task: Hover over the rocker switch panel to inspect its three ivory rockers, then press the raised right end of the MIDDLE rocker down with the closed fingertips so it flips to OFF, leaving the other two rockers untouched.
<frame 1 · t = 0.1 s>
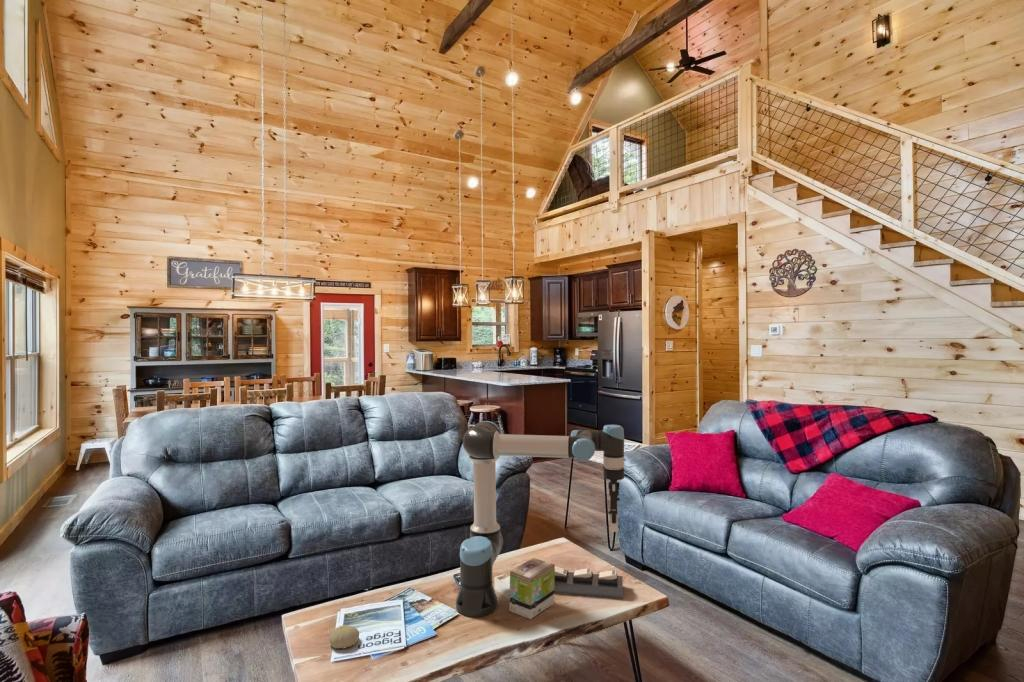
hand: (614, 524, 200), 28 cm above the table, fingers open, 13 cm apart
rocker 3: (607, 575, 207), point 6 cm above the table, hinge at -14.0°
rocker 2: (582, 573, 209), point 6 cm above the table, hinge at -14.0°
brown kiwi fruit: (344, 643, 174), on the table
tea box: (532, 607, 196), on the table
rocker 1: (558, 571, 211), point 6 cm above the table, hinge at 14.0°
rocker switch panel: (583, 589, 209), on the table
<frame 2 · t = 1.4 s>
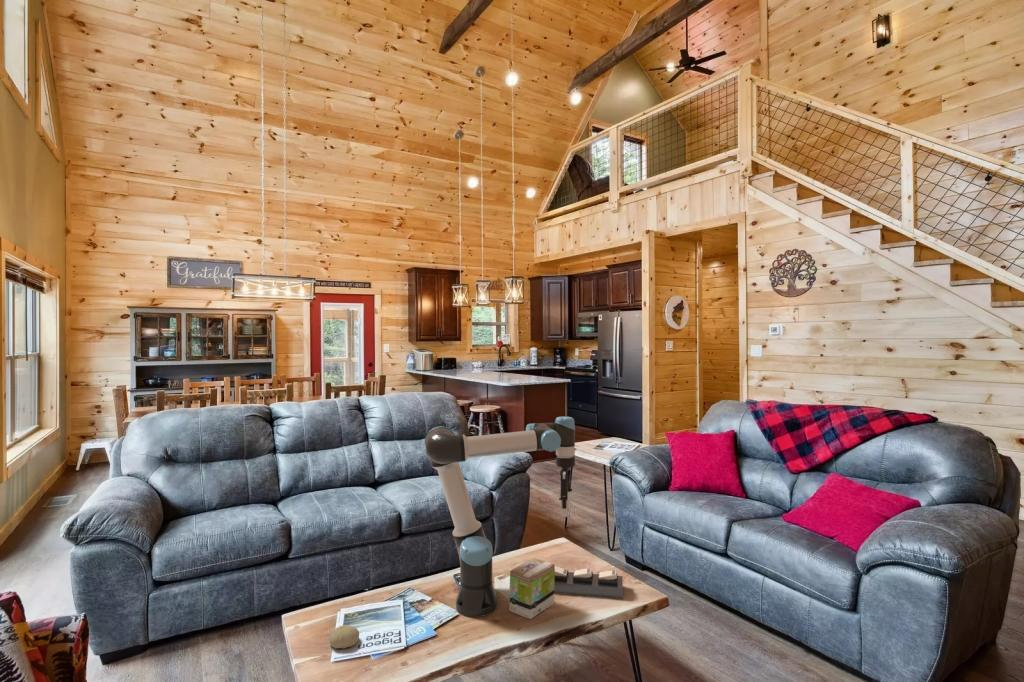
hand: (565, 511, 216), 28 cm above the table, fingers open, 10 cm apart
nothing on the table moved.
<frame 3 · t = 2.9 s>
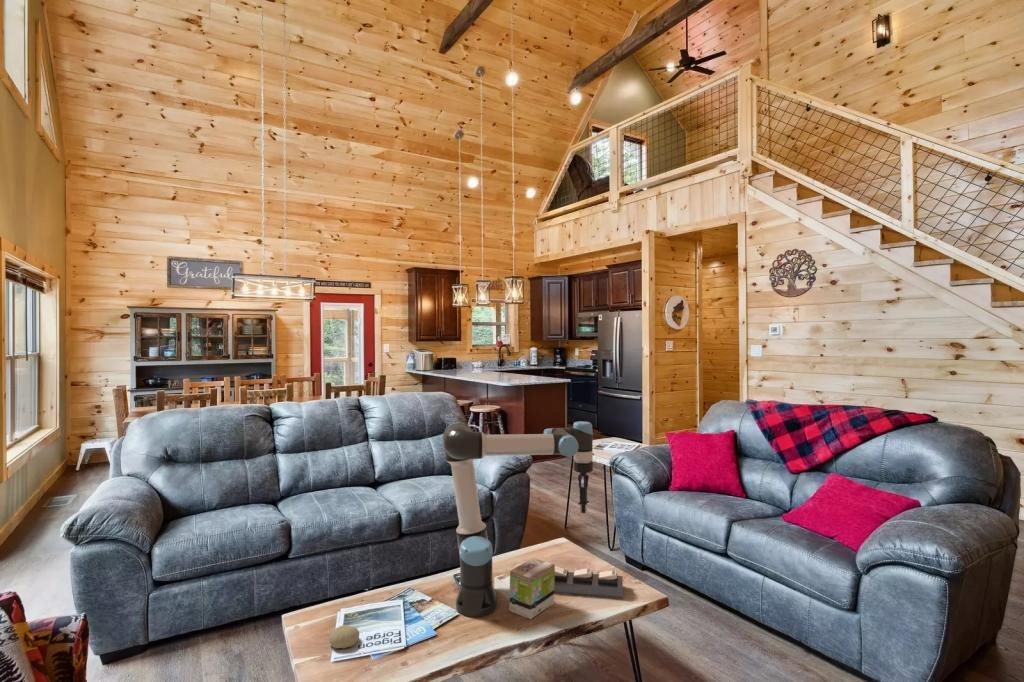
hand: (583, 520, 216), 24 cm above the table, fingers closed
nothing on the table moved.
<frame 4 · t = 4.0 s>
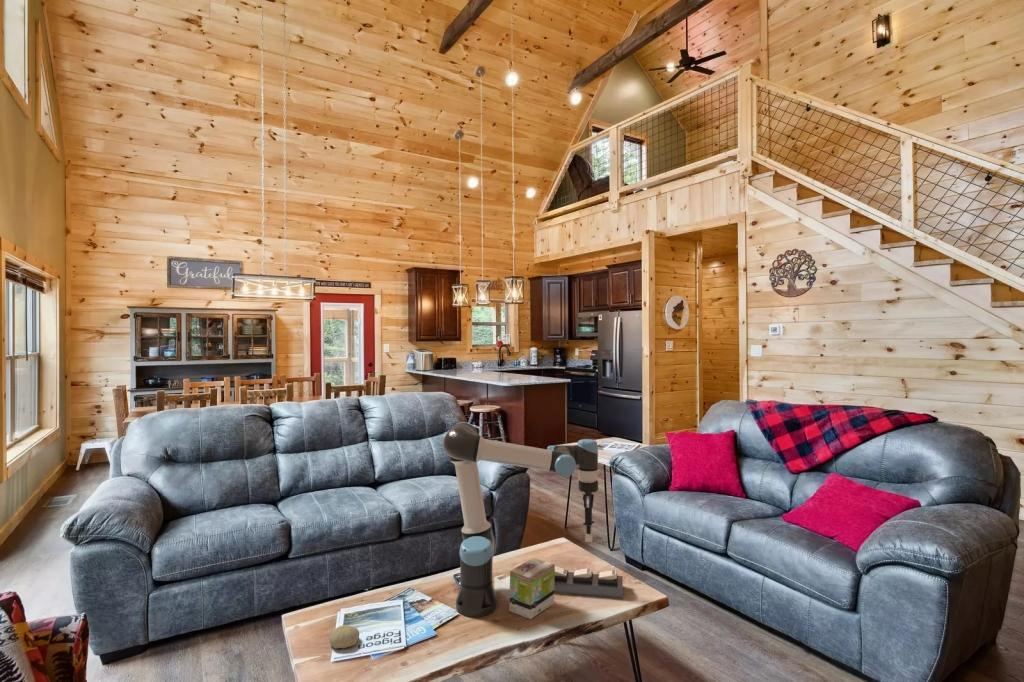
hand: (588, 541, 209), 19 cm above the table, fingers closed
nothing on the table moved.
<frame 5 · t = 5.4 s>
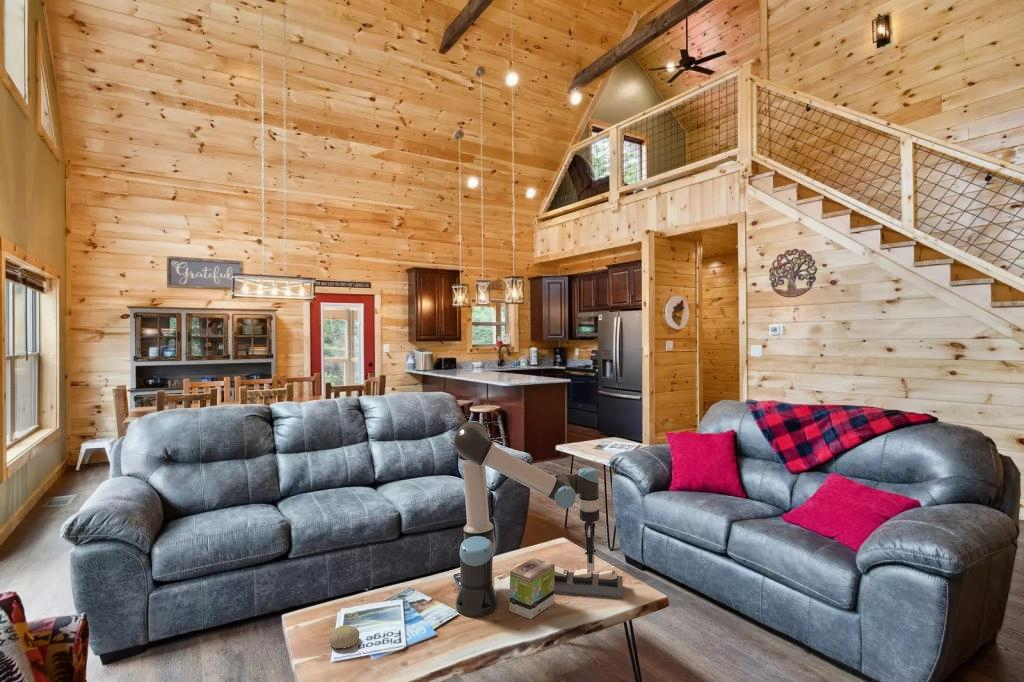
hand: (590, 570, 209), 8 cm above the table, fingers closed
rocker 2: (582, 573, 209), point 6 cm above the table, hinge at -13.4°, touching gripper
everything else where it was.
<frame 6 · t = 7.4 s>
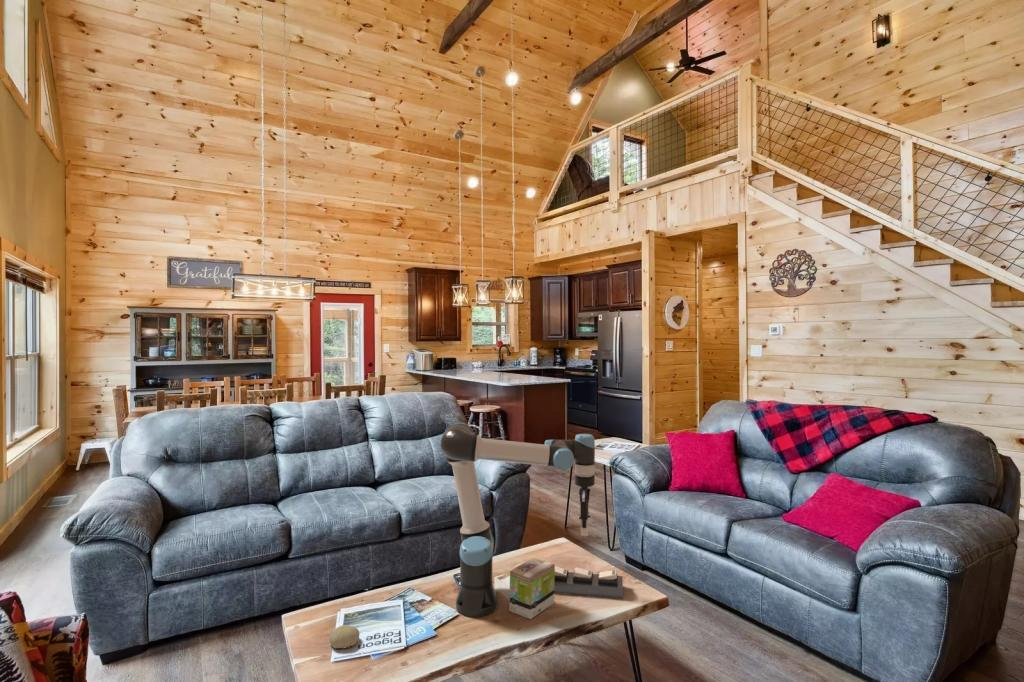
hand: (584, 535, 210), 20 cm above the table, fingers closed
rocker 2: (582, 573, 209), point 6 cm above the table, hinge at 10.7°
everything else where it was.
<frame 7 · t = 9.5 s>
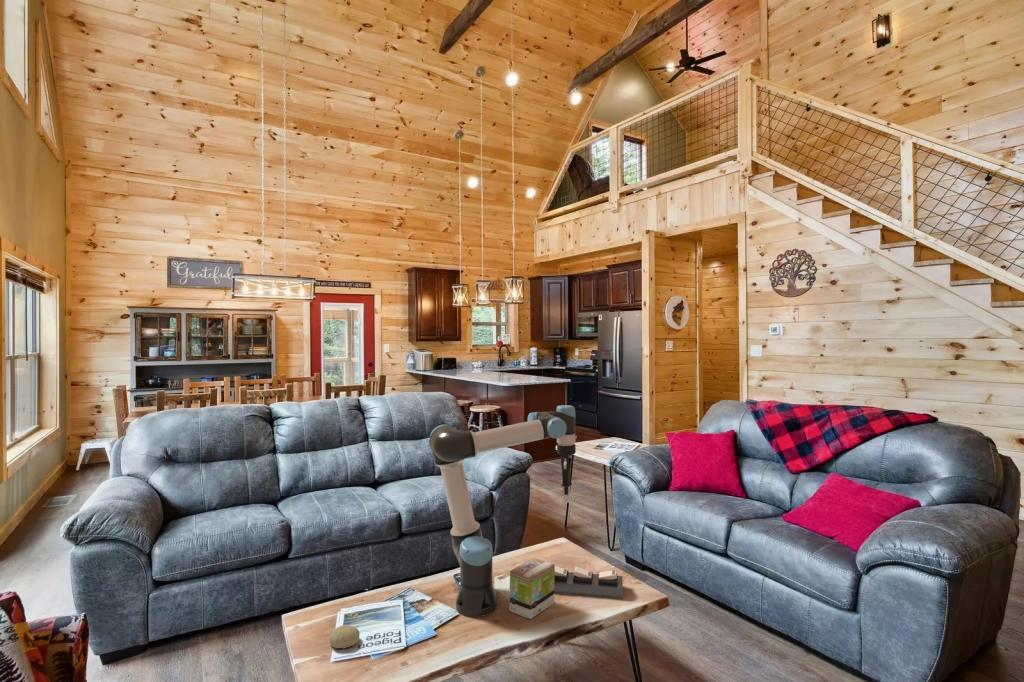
hand: (566, 501, 220), 30 cm above the table, fingers closed
rocker 2: (582, 573, 209), point 6 cm above the table, hinge at 17.8°, touching rocker switch panel
everything else where it was.
at the end: rocker 2 at +18° (first picture: -14°); rocker 3 at -14° (first picture: -14°); rocker 1 at +14° (first picture: +14°) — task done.
